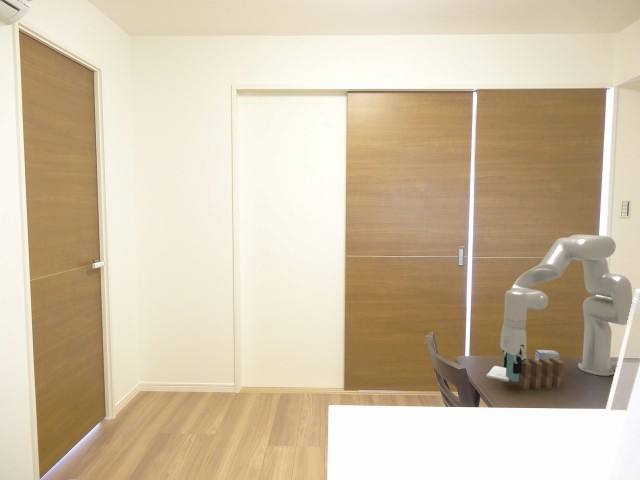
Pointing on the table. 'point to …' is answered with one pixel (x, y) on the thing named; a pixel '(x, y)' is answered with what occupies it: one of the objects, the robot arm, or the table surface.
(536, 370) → the brown wooden block
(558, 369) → the tile
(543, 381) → the brown flat rectangular block
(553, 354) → the medicine box
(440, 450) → the table surface
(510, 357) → the tile
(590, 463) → the table surface
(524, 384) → the tile
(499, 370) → the external hard drive
